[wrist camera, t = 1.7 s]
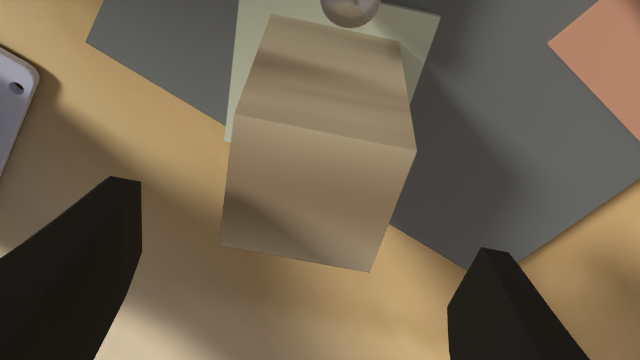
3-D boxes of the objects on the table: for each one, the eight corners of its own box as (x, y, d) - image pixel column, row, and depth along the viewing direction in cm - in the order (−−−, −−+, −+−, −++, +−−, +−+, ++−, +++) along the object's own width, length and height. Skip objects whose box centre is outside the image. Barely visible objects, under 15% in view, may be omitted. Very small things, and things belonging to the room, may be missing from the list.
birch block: (365, 146, 18) (369, 272, 14) (255, 123, 18) (218, 245, 13) (398, 41, 16) (416, 150, 11) (271, 13, 16) (234, 114, 11)
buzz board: (476, 271, 24) (481, 291, 23) (92, 40, 18) (78, 55, 17) (872, -14, 15) (907, 0, 14) (397, -630, 9) (401, -677, 8)
